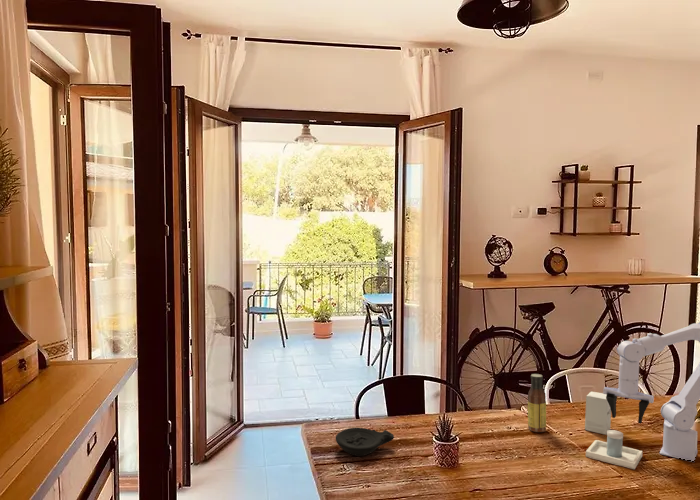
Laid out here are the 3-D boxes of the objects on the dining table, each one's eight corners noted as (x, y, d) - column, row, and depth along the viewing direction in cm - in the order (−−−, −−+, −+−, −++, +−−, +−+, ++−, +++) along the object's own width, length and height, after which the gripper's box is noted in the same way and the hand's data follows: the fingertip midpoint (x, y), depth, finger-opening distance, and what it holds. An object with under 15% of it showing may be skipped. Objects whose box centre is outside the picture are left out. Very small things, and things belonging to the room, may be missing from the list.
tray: (642, 456, 172) (642, 451, 172) (634, 469, 163) (634, 463, 163) (595, 444, 181) (595, 439, 181) (585, 456, 172) (585, 451, 171)
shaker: (623, 454, 172) (624, 432, 172) (620, 459, 169) (621, 436, 169) (608, 450, 175) (609, 428, 175) (604, 455, 172) (605, 432, 171)
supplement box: (606, 435, 190) (607, 399, 189) (584, 430, 194) (585, 395, 194) (611, 429, 196) (612, 394, 195) (589, 424, 200) (590, 390, 200)
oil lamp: (402, 456, 170) (402, 440, 170) (343, 463, 164) (343, 447, 164) (385, 438, 184) (385, 423, 184) (330, 444, 178) (330, 429, 178)
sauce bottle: (543, 427, 196) (545, 373, 196) (548, 433, 190) (549, 378, 189) (525, 426, 197) (526, 372, 196) (528, 432, 191) (530, 377, 190)
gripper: (601, 377, 177) (599, 417, 177) (651, 385, 168) (649, 428, 168) (606, 372, 182) (605, 412, 183) (655, 380, 173) (653, 422, 174)
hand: (626, 419), depth 176 cm, fingers open, 7 cm apart
